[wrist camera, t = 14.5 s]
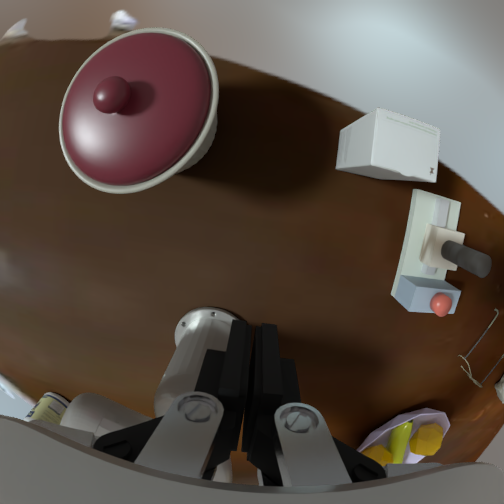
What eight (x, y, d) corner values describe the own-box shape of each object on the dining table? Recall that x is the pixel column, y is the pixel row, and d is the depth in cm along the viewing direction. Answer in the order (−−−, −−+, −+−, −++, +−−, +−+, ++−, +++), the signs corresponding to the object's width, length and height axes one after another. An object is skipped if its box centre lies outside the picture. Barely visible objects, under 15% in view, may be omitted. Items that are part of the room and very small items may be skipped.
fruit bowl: (379, 396, 49) (397, 432, 38) (457, 397, 50) (476, 423, 39) (325, 466, 56) (331, 499, 45) (402, 462, 57) (413, 488, 46)
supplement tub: (46, 382, 53) (13, 420, 36) (82, 408, 54) (53, 451, 37) (46, 405, 55) (18, 440, 39) (79, 429, 56) (55, 467, 40)
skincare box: (387, 142, 38) (444, 128, 23) (382, 182, 39) (439, 186, 24) (337, 129, 38) (378, 103, 23) (332, 171, 39) (371, 166, 24)
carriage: (441, 263, 40) (490, 290, 27) (415, 258, 40) (464, 287, 27) (449, 228, 39) (501, 246, 26) (423, 222, 39) (476, 239, 26)
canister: (211, 203, 41) (165, 224, 20) (109, 172, 40) (15, 174, 20) (251, 90, 37) (242, 15, 16) (144, 69, 36) (75, 11, 15)
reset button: (441, 311, 36) (447, 316, 34) (427, 310, 36) (433, 316, 34) (447, 292, 36) (454, 297, 34) (433, 291, 36) (440, 296, 34)
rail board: (433, 298, 44) (453, 313, 37) (390, 294, 44) (408, 311, 37) (455, 201, 39) (480, 206, 32) (413, 188, 39) (436, 191, 32)
